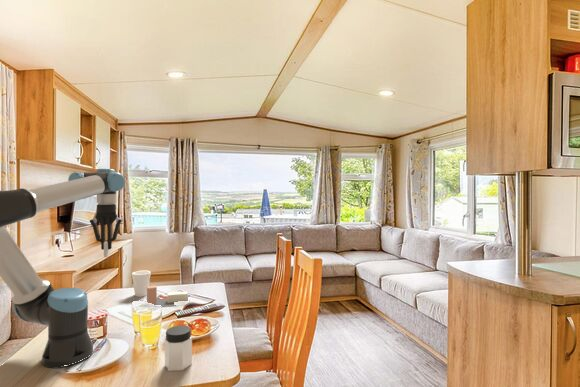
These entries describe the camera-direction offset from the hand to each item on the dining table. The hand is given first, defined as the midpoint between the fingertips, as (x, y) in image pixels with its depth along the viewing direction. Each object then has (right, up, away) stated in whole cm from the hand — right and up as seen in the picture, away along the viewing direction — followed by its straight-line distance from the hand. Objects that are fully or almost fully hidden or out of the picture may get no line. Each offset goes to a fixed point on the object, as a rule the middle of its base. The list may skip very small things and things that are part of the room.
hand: (106, 256), depth 148 cm
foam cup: (-1, -29, +37) cm, 47 cm away
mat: (+18, -29, +26) cm, 43 cm away
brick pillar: (+12, -29, +19) cm, 36 cm away
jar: (+43, -31, -34) cm, 63 cm away
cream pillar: (+18, -27, +26) cm, 41 cm away
